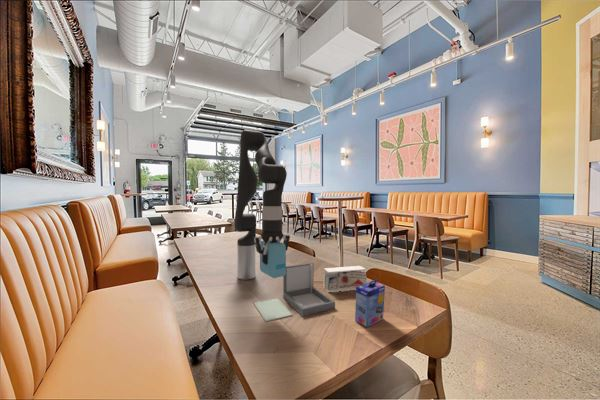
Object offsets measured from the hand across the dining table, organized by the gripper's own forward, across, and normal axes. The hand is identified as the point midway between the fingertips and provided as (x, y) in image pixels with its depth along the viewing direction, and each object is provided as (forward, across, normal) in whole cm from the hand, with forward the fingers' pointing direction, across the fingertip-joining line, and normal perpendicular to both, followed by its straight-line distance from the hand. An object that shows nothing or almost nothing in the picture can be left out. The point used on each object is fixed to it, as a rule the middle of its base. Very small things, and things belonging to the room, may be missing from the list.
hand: (272, 262), depth 92 cm
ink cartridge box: (+18, -28, +22) cm, 40 cm away
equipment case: (+18, -15, +1) cm, 23 cm away
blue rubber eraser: (+4, 0, 0) cm, 4 cm away
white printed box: (+18, -38, -5) cm, 42 cm away
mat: (+18, 0, 0) cm, 18 cm away
